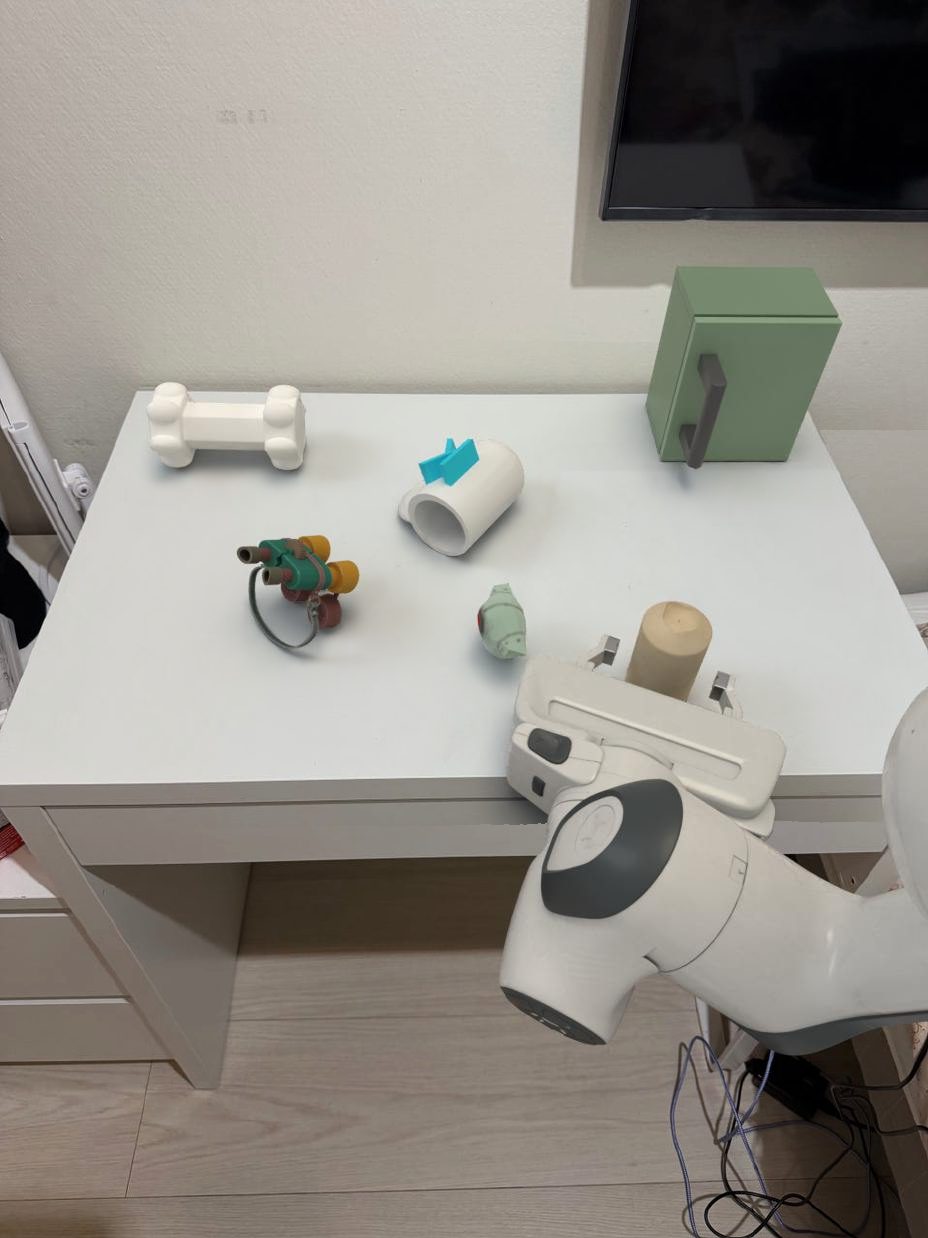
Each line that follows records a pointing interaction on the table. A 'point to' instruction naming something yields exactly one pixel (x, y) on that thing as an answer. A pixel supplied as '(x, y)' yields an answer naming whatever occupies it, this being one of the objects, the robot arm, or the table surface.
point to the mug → (462, 494)
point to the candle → (669, 649)
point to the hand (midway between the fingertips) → (667, 659)
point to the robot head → (502, 624)
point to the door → (746, 387)
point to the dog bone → (227, 426)
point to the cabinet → (725, 298)
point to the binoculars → (301, 579)
